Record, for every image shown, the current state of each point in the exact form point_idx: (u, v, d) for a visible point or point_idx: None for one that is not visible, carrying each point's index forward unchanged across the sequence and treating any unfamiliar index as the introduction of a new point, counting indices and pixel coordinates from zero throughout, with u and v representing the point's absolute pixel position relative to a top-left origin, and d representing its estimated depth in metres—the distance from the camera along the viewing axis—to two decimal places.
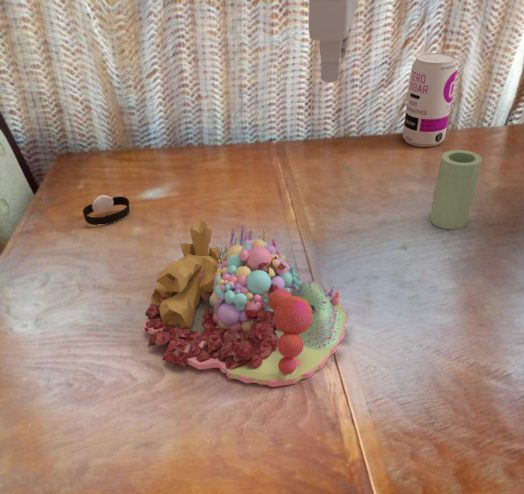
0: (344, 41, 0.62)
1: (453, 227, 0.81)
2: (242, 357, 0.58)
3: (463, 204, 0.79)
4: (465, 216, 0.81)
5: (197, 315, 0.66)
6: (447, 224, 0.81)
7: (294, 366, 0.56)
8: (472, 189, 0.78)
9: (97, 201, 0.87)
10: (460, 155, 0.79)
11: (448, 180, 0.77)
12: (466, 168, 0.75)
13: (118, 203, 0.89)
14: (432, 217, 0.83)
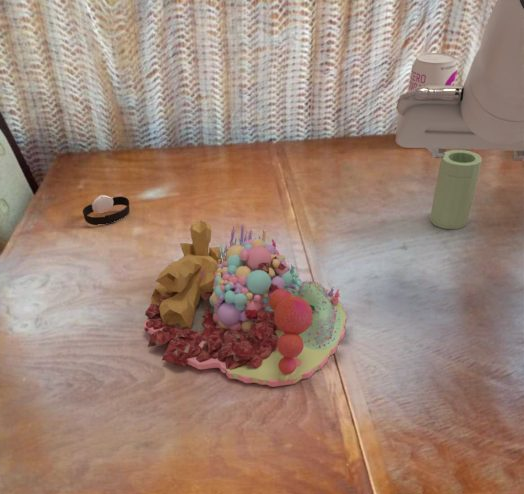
0: (517, 154, 0.62)
1: (453, 227, 0.81)
2: (242, 357, 0.58)
3: (463, 204, 0.79)
4: (465, 216, 0.81)
5: (197, 315, 0.66)
6: (447, 224, 0.81)
7: (294, 366, 0.56)
8: (472, 189, 0.78)
9: (97, 201, 0.87)
10: (460, 155, 0.79)
11: (448, 180, 0.77)
12: (466, 168, 0.75)
13: (118, 203, 0.89)
14: (432, 217, 0.83)
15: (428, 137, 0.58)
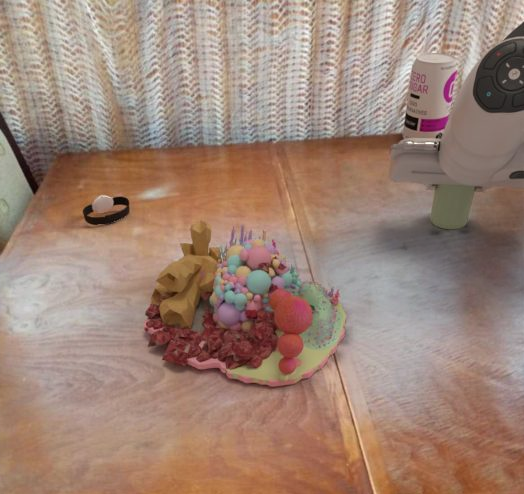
0: (476, 187, 0.78)
1: (453, 226, 0.81)
2: (242, 357, 0.58)
3: (463, 204, 0.79)
4: (465, 216, 0.81)
5: (197, 315, 0.66)
6: (447, 224, 0.81)
7: (294, 366, 0.56)
8: (472, 189, 0.78)
9: (97, 201, 0.87)
10: None
11: None
12: None
13: (118, 203, 0.89)
14: (432, 217, 0.83)
15: (414, 176, 0.74)
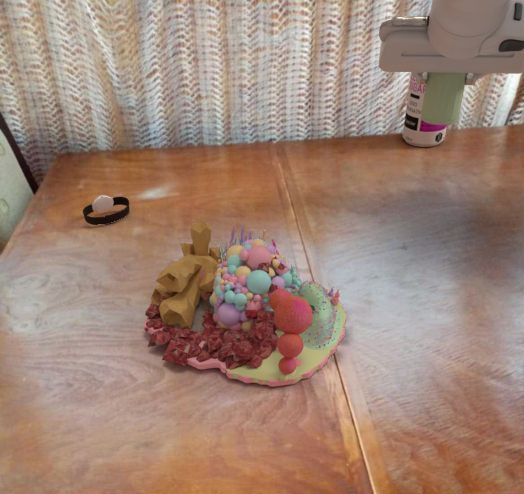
0: (467, 78, 0.78)
1: (443, 122, 0.81)
2: (242, 357, 0.58)
3: (454, 96, 0.79)
4: (456, 111, 0.81)
5: (197, 315, 0.66)
6: (438, 119, 0.81)
7: (294, 366, 0.56)
8: (462, 80, 0.78)
9: (97, 201, 0.87)
10: None
11: None
12: None
13: (118, 203, 0.89)
14: (423, 114, 0.82)
15: (403, 60, 0.74)
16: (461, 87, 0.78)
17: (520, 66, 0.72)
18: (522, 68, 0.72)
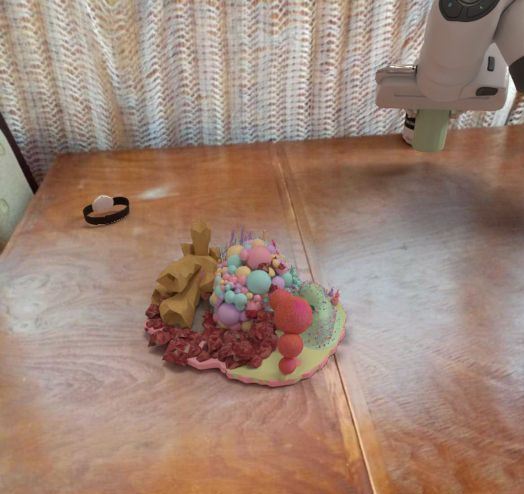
0: (451, 113, 0.91)
1: (431, 150, 0.94)
2: (242, 357, 0.58)
3: (440, 128, 0.91)
4: (442, 140, 0.93)
5: (197, 315, 0.66)
6: (426, 148, 0.94)
7: (294, 366, 0.56)
8: (447, 115, 0.90)
9: (97, 201, 0.87)
10: None
11: None
12: None
13: (118, 203, 0.89)
14: (413, 143, 0.95)
15: (396, 100, 0.86)
16: (446, 121, 0.91)
17: (495, 105, 0.85)
18: (497, 107, 0.85)
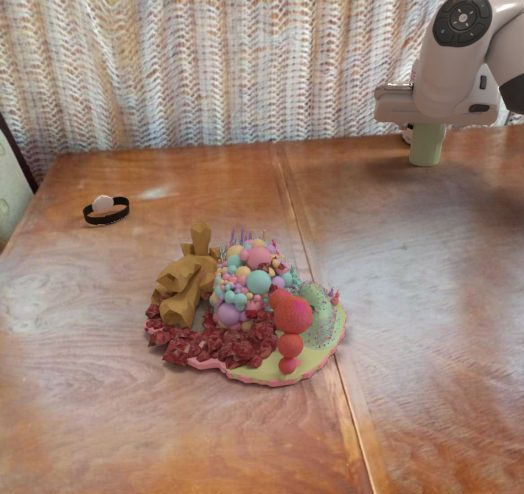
0: (454, 127, 0.95)
1: (427, 164, 0.98)
2: (242, 357, 0.58)
3: (435, 144, 0.96)
4: (437, 155, 0.98)
5: (197, 315, 0.66)
6: (422, 162, 0.98)
7: (294, 366, 0.56)
8: (442, 131, 0.95)
9: (97, 201, 0.87)
10: None
11: (422, 123, 0.94)
12: None
13: (118, 203, 0.89)
14: (410, 157, 1.00)
15: (394, 114, 0.91)
16: (441, 137, 0.96)
17: (488, 120, 0.89)
18: (489, 122, 0.90)
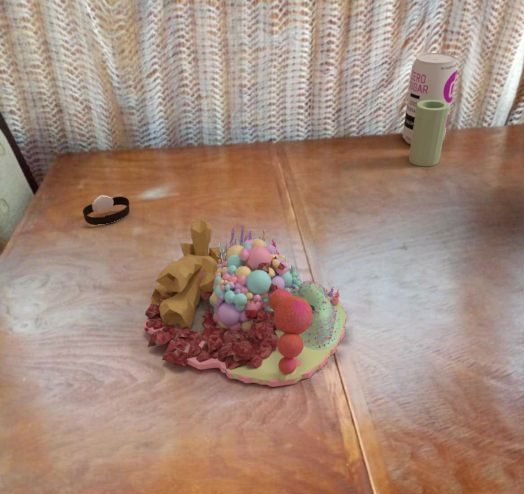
0: None
1: (427, 164, 0.98)
2: (242, 357, 0.58)
3: (435, 144, 0.96)
4: (437, 155, 0.98)
5: (197, 315, 0.66)
6: (422, 162, 0.98)
7: (294, 366, 0.56)
8: (442, 131, 0.95)
9: (97, 201, 0.87)
10: (432, 104, 0.96)
11: (422, 123, 0.94)
12: (436, 112, 0.92)
13: (118, 203, 0.89)
14: (410, 157, 1.00)
15: None
16: (441, 137, 0.96)
17: None
18: None
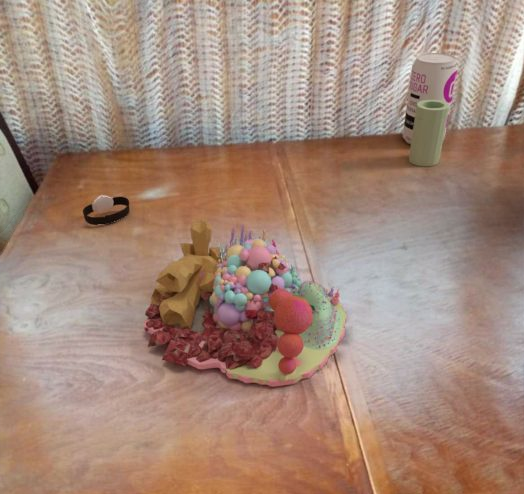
0: None
1: (427, 164, 0.98)
2: (242, 357, 0.58)
3: (435, 144, 0.96)
4: (437, 155, 0.98)
5: (197, 315, 0.66)
6: (422, 162, 0.98)
7: (294, 366, 0.56)
8: (442, 131, 0.95)
9: (97, 201, 0.87)
10: (432, 104, 0.96)
11: (422, 123, 0.94)
12: (436, 112, 0.92)
13: (118, 203, 0.89)
14: (410, 157, 1.00)
15: None
16: (441, 137, 0.96)
17: None
18: None
